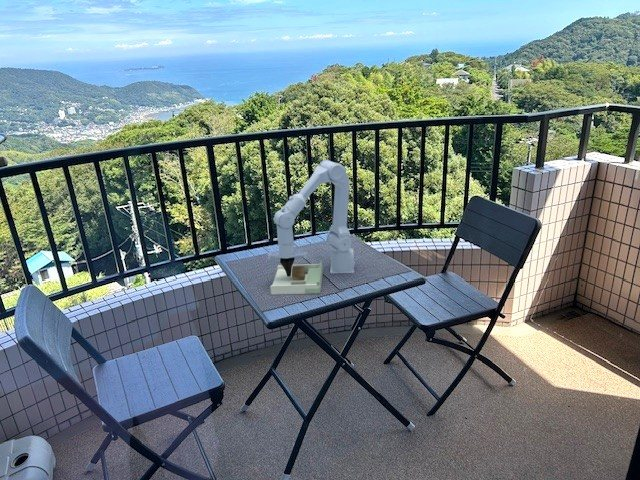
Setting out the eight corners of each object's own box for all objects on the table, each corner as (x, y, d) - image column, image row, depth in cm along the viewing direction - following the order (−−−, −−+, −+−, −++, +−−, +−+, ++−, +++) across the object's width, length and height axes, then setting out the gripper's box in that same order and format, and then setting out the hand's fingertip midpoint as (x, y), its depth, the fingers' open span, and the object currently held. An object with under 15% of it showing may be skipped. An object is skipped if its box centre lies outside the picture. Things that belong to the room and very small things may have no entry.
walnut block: (305, 275, 170) (304, 265, 168) (304, 280, 165) (303, 270, 164) (293, 275, 170) (292, 266, 169) (292, 280, 166) (291, 271, 164)
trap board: (322, 271, 176) (322, 261, 174) (320, 293, 159) (319, 282, 158) (278, 273, 178) (277, 262, 176) (271, 294, 161) (269, 283, 159)
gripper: (306, 237, 166) (309, 270, 171) (268, 239, 167) (272, 271, 172) (304, 244, 159) (307, 278, 164) (265, 246, 160) (269, 279, 165)
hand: (289, 275), depth 168 cm, fingers closed
